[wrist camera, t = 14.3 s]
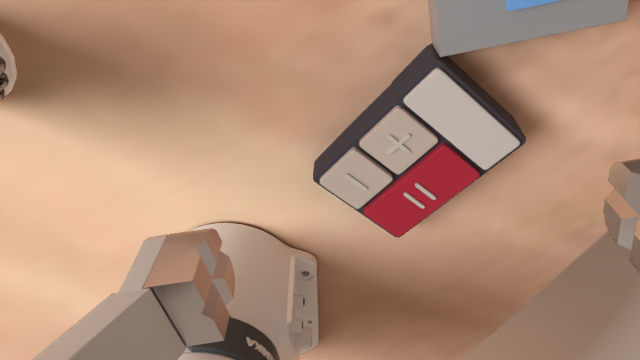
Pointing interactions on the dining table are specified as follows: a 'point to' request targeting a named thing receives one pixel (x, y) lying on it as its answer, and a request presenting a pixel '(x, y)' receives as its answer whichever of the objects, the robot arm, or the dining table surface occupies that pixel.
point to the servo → (525, 3)
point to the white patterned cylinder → (6, 68)
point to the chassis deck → (512, 21)
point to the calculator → (417, 145)
